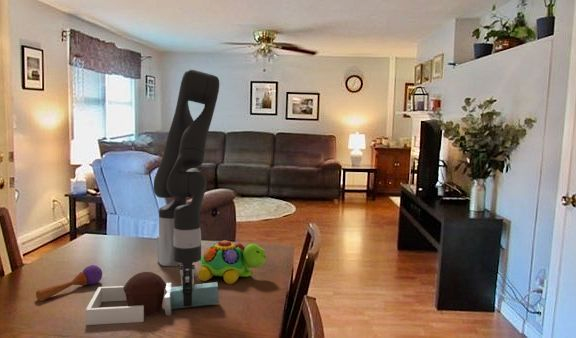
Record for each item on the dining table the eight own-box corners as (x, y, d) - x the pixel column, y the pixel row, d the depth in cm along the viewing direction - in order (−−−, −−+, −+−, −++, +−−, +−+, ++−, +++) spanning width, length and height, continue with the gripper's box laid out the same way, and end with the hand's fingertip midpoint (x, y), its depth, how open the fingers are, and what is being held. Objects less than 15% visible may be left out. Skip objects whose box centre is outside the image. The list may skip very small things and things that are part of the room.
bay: (149, 297, 138) (149, 284, 137) (143, 321, 122) (143, 306, 122) (98, 300, 135) (98, 287, 135) (86, 325, 119) (85, 309, 119)
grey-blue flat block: (217, 293, 139) (216, 277, 138) (219, 308, 128) (218, 291, 128) (167, 299, 136) (166, 282, 136) (165, 315, 126) (164, 297, 125)
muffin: (132, 300, 135) (131, 266, 134) (170, 301, 135) (170, 267, 134) (117, 318, 124) (116, 281, 123) (159, 319, 124) (159, 282, 123)
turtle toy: (259, 288, 148) (259, 252, 146) (189, 281, 152) (189, 246, 151) (271, 271, 164) (272, 238, 163) (208, 265, 169) (208, 233, 167)
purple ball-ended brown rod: (31, 285, 135) (92, 262, 152) (36, 305, 135) (96, 280, 152) (42, 286, 132) (103, 262, 148) (47, 307, 132) (108, 280, 149)
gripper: (201, 250, 124) (201, 312, 126) (200, 236, 138) (200, 292, 140) (172, 251, 122) (173, 314, 124) (174, 237, 136) (174, 294, 138)
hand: (187, 302), depth 132 cm, fingers closed on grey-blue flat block, 3 cm apart
